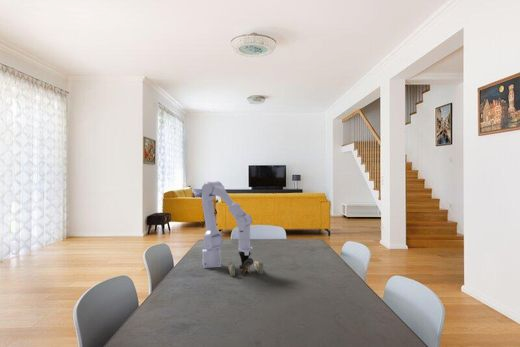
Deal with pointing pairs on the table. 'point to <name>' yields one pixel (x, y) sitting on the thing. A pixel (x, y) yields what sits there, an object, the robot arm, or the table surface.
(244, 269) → the eagle figurine
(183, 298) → the table surface
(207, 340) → the table surface
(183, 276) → the table surface
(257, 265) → the wooden matchsticks
